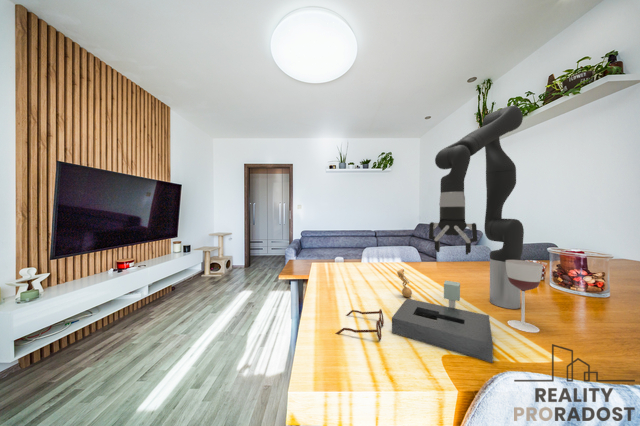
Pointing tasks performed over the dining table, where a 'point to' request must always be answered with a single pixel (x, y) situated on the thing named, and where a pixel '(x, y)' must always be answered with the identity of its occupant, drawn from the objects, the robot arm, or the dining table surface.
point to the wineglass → (523, 286)
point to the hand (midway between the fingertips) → (452, 252)
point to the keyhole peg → (452, 292)
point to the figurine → (405, 290)
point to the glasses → (367, 330)
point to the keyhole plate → (445, 328)
